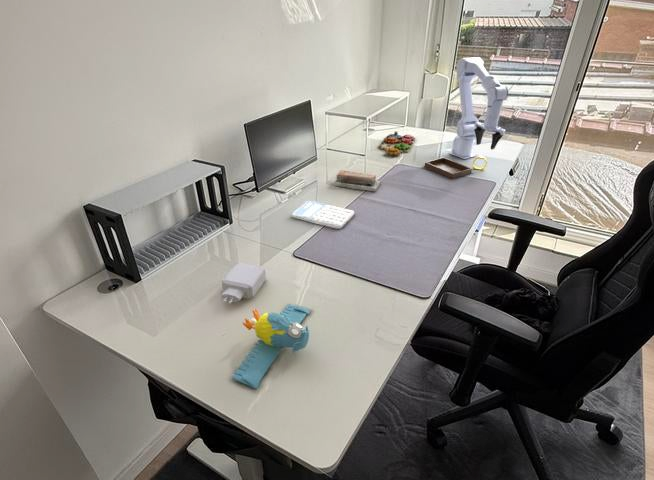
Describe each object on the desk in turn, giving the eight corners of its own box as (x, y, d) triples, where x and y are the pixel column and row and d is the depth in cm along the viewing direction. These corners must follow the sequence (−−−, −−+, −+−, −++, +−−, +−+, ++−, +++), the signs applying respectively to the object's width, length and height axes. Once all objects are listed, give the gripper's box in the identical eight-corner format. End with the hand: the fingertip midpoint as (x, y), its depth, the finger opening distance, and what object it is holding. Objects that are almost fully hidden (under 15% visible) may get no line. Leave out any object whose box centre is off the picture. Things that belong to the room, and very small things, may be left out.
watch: (471, 169, 193) (474, 157, 190) (471, 167, 195) (474, 154, 192) (485, 170, 192) (488, 158, 189) (484, 168, 194) (487, 156, 191)
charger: (212, 306, 113) (237, 275, 125) (243, 313, 111) (266, 281, 123) (209, 292, 110) (236, 262, 122) (241, 299, 108) (265, 267, 120)
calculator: (339, 230, 147) (340, 225, 146) (291, 217, 155) (290, 213, 154) (355, 214, 157) (355, 210, 156) (308, 203, 164) (308, 199, 163)
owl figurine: (276, 276, 110) (329, 291, 105) (277, 301, 115) (328, 317, 110) (213, 347, 89) (276, 370, 84) (218, 374, 94) (277, 397, 89)
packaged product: (334, 175, 175) (341, 167, 183) (333, 186, 178) (340, 177, 185) (376, 181, 170) (381, 172, 178) (375, 192, 173) (380, 183, 180)
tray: (424, 166, 196) (425, 162, 195) (442, 161, 201) (443, 157, 200) (452, 179, 184) (453, 174, 183) (471, 173, 190) (472, 168, 188)
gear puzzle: (405, 158, 204) (406, 150, 202) (373, 154, 209) (373, 146, 207) (416, 139, 228) (417, 132, 226) (386, 136, 233) (387, 129, 230)
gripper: (473, 113, 186) (466, 143, 194) (501, 121, 177) (493, 152, 185) (482, 111, 190) (476, 141, 198) (511, 118, 180) (503, 149, 188)
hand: (485, 146), depth 191 cm, fingers open, 7 cm apart
